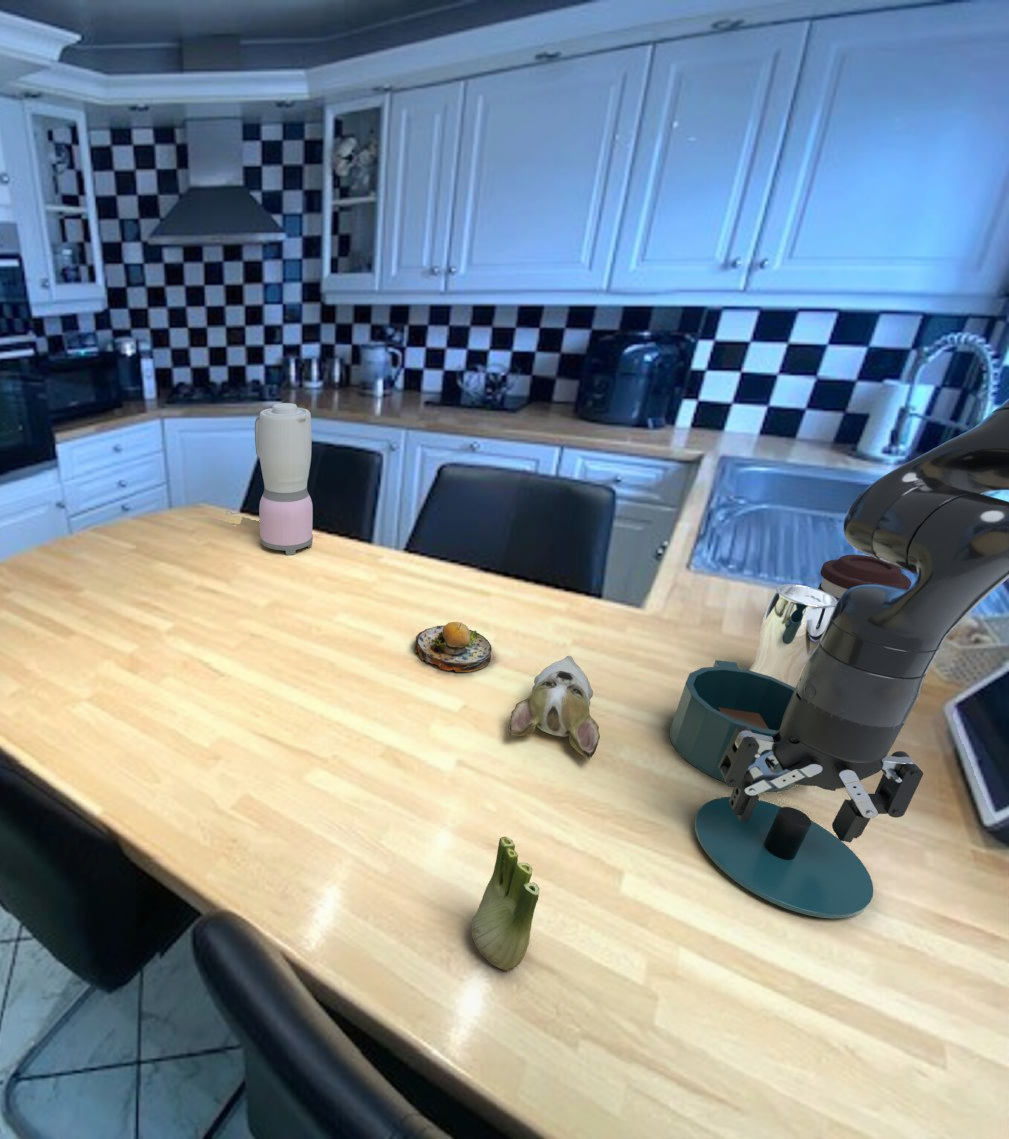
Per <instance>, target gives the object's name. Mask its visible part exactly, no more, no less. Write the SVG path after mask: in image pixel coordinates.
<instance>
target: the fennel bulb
mask: <svg viewBox="0 0 1009 1139" xmlns="http://www.w3.org/2000/svg"><path fill="white" fill-rule="evenodd" d="M515 849H516V844H515V843H514V841H513V839H511V838H509V837H508V836H502V837H501V836H500V837H499V840H498V846H497V852H496V859H495V863H494V867H493V868H494V869H493V872H492V874H491V878H490V879H489V881H488V883H487V885H486V888H485V890H484V892H483V895H482V898H481V900H480V903H479V905H478V908H477V911H476V912H475V914H474V916H473V918H472V920H471V928H470V929H471V937H472V939H473V943H474V945H475V947H476V948H477V950H478V952H479V953H480V954H481V956H482V957H483V958H484V959H486V960H487V962H488V963H490V964H491V965H492V966H494V967H496V968H498V969H501V970H504V971H506V972H511V971H513V970H515V969H516V968H517V967H518V966H519V965H520V964H521V963H522V962H523V960H524V958H525V956H526V953H527V950H528V948H529V945H530V940H531V932H532V931H531V930H532V924H533V918H534V914H535V909H536V906H537V904H538V901H539V896H540V887H539V886H538V884H537V883H536V882H535V881H534V882H532V881H531V878H532V876H533V867H532V866H531V865H530V864H529V863H528V862H523V861H522V862H519V854H518V852H517V851H516V850H515Z"/></svg>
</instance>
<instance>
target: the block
mask: <svg viewBox="0 0 1009 1139" xmlns="http://www.w3.org/2000/svg"><path fill="white" fill-rule="evenodd" d="M717 710H718V711H719V712H721V713H723V714H725V715H727V716H729V717H731V718H733V719H735V720H738V721H741V722H744V723H747V724H750V725H753V726H756V727H759V728H764V729H768V727H767V725H766V724H765V722H764V721H763V719H762V717H761V716H760V714H759V713H753V712H746V711H739V710H733V709H726V708H719V707H718V708H717Z"/></svg>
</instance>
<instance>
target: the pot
mask: <svg viewBox="0 0 1009 1139" xmlns="http://www.w3.org/2000/svg"><path fill="white" fill-rule="evenodd" d="M794 690H795V687H793V686H790V685H788V684H786V683H784V682H782V681H779V680H777V679H775V678H773V677H770V676H767V675H763V674H760V673H757V672H753V671H750V670H749V669H745V668H740V667H739V665H738V664H737V662H735V661H727V660H720V659H715V660H714V663H713V666H705V667H700V668H698V669H696V670H694V671H692V672H690V673H688V676H687V679H686V681H685V684H684V687H683V690H682V693H681V696H680V699H679V702H678V705H677V708H676V711H675V714H674V717H673V720H672V723H671V726H670V730H669V739H670V741H671V743H672V746H673V748H674V749H675V751H676V752H677V753H678V754H679V755H680V756H681V757H682V758H683V759H684V760H685V761H686V762H687V763H689V764H690V765H692V766H693V767H694V768H696V769H697V770H699V771H700V772H702V773H704V774H705V775H708V776H709V777H712V778H714V779H716V780H717V781H720V782H723V783H725V784H726V782H725V780H724V777H723V775H722V773H721V771H720V769H719V767H718V765H719V763H720V761H721V759H722V757H723V755H724V753H725V751H726V749H727V747H728V745H729V743H730V741H731V739H732V737H733V735H734V733H735V731H736V729H737V728H738V727H740V726H747V727H749V728H750V730H751V732H752V733H756V734H761V735H765V736H771V735H773V734H774V733H776V732H777V731H778V730H779V729H780V727H781V723H782V718H783V715H784V713H785V710H786V708H787V706H788V704H789V701H790V699H791V697H792V694H793V692H794ZM718 707H719V708H726V709H733V710H739V711H746V712H753V713H759V714H760V716H761V717H762V719H763V721H764V722H765V724H766V725H767V727H768V729H764V728H759V727H756V726H753V725H750V724H747V723H744V722H741V721H738V720H735V719H733V718H731V717H729V716H727V715H725V714H723V713H721V712H719V711H718V710H717V708H718ZM770 751H771V750H765V751H763V752H762V753H761V754H760V756H762V755H764V754H766V753H768V752H770ZM756 759H757V758H756V757H754V758H753V760H752V762H751V764H750V765H752V764H754V763H755V761H756ZM774 770H775V772H776V774H777V773H779V772H781V771H783V770H782V768H781V766H780V765H779V763H778V764H776V765H775V766H774ZM760 777H762V775H761V776H759V777H757V778H755V779H754V780H756V779H758V778H760ZM795 785H797V784H795V782H793V783H791V784H789V785H787V786H785V787H783V788H780V789H776V788H770V789H768V790H766V791H764V792H767V793H769V792H770V793H771V792H774V793H775V792H782V791H786V790H789V789H791V788H793V787H794V786H795Z"/></svg>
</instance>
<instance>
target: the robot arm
mask: <svg viewBox="0 0 1009 1139" xmlns="http://www.w3.org/2000/svg"><path fill="white" fill-rule="evenodd" d="M997 491H1009V398H1007V399H1006V400H1005V401H1003V402H1002V403H1001V404H1000V405H999V406H998V407H996V408H995V409H994V410H993V411H992V412H991V413H990V414H988V415H987V416H986V417H985V418H983V420H981V422H980V423H978V424H977V425H976V426H974V427H973V428H971V429H969V430H967V431H965V432H963V433H960V434H958V435H957V436H955V437H953V438H951V439H948V440H947V441H945V442H943V443H941V444H940V445H938V446H936V447H934V448H932V449H931V450H929V451H927V452H925V453H923V454H921V455H919V456H918V457H916V458H914V459H912V460H910V461H908V462H906V463H904V464H902V465H900V466H898V467H897V468H895V469H893V470H891V471H890V472H887V473H886V474H884V475H883V476H881V477H879V478H878V479H877V480H876V481H874V482H873V483H871V484H870V485H869V486H867V487H866V488H865V489H864V490H863V491H862V492H860V493H859V494H858V496H857V497H856V498H855V499H854V500H853V502H852V503H851V504H850V506H849V507H848V510H847V511H846V514H845V517H844V519H843V525H842V526H843V527H842V531H843V535H844V538H845V540H846V542H848V544H849V545H850V546H851V547H852V548H854V549H855V550H856V551H858V552H860V553H862V554H864V555H865V556H871V557H874V558H876V559H879V560H881V561H884V562H887V563H889V564H892V565H894V566H897V567H899V568H900V569H901V570H904V571H907V572H909V573H912V574H914V575H916V579H915V582H913V584H912V586H910V588H909V590H906V589H902V588H896V587H891V586H884V585H872V584H868V585H859V586H855V587H852V588H850V589H848V590H846V591H845V592H844V593H843V594H842V595H841V597H840V598H839V600H838V602H837V604H836V606H835V608H834V610H833V612H832V615H831V617H830V619H829V621H828V623H827V626H826V628H825V630H824V633H823V635H822V637H821V639H820V642H819V644H818V645H817V647H816V648H815V650H814V651H813V653H812V654H811V656H810V657H809V659H808V661H807V663H806V664H805V666H804V667H803V669H802V671H801V674H800V678H799V681H798V683H797V685H796V688H795V690H794V692H793V694H792V697H791V699H790V701H789V704H788V706H787V708H786V710H785V713H784V715H783V718H782V723H781V727H780V729H779V730H778V731H777V732H776V733H774V734H773V735H771V736H765V735H761V734H756V733H752V732H751V730H750V728H749V727H747V726H740V727H738V728H737V729H736V731H735V733H734V735H733V737H732V739H731V741H730V743H729V745H728V747H727V749H726V751H725V753H724V755H723V757H722V759H721V761H720V763H719V765H718V767H719V769H720V771H721V773H722V775H723V777H724V780H725V782H726V783H725V782H724V783H725V784H726V786H728V787H730V788H733V790H732V792H731V794H730V796H729V797H730V799H729V803H730V806H731V808H732V810H733V812H734V814H735V815H736V816H737V818H738V820H739V821H744V822H748V821H749V819H750V817H751V815H752V813H753V810H754V808H755V806H756V804H757V802H758V800H760V799H759V798H760V796H759V794H762V793H764V792H765V791H766V790H768V789H770V788H776V789H780V788H783V787H785V786H787V785H789V784H791V783H793V782H795V784H796V785H799V786H804V787H805V786H806V787H818V788H820V789H823V790H825V791H832V792H835V791H836V790H839V789H844V790H845V792H846V793H847V795H848V797H849V798H850V799H847V798H845V799H844V800H843V801H842V804H841V805H840V808H839V809H838V811H837V813H836V815H835V817H834V819H833V821H832V823H831V827H832V830H833V832H834V833H835V836H836V837H837V838H838V839H839V840H840V841H842V842H845V843H852V842H853V840H854V839H858V838H859V837H861V836H862V834H863V833H864V831H865V829H866V827H867V826H868V824H869V822H870V820H871V819H873V818H876V817H877V816H878V815H888V816H889V817H891V818H895V819H897V818H902V817H903V816H904V815H905V813H906V812H907V809H908V808H909V805H910V803H911V801H912V799H913V797H914V795H915V793H916V791H917V789H918V787H919V785H920V783H921V780H922V778H923V776H924V772H923V770H922V769H921V768H920V767H919V766H918V764H917V763H916V762H915V761H914V760H913V759H912V757H911V756H910V755H909V754H908V753H907V752H905V751H903V750H898V751H894V752H893V753H891V755H888V754H889V753H890V750H891V749H892V747H893V745H894V743H895V741H896V740H897V738H898V736H899V735H900V732H901V731H902V729H903V726H904V725H905V723H906V721H907V719H908V717H909V715H910V713H911V712H912V710H913V708H914V706H915V705H916V703H917V701H918V699H919V697H920V694H921V691H922V687H923V684H924V681H925V678H926V676H927V674H928V671H929V670H930V668H931V666H932V664H933V662H934V660H935V658H936V657H937V655H938V653H939V651H940V650H941V647H942V646H943V644H944V642H945V640H946V638H947V637H948V636H949V634H950V633H951V632H952V631H953V630H954V629H955V628H956V627H957V626H958V624H959V623H961V622H962V621H963V620H964V619H965V617H967V616H968V615H969V614H970V613H971V612H972V611H973V610H974V609H975V608H976V607H977V606H978V605H979V604H980V603H982V601H984V600H985V599H986V598H987V597H988V596H989V595H990V594H991V593H993V592H994V591H995V590H996V589H998V588H999V587H1000V586H1001V585H1002V584H1004V582H1006V581H1007V580H1008V579H1009V501H1007V500H1004V499H1001V498H997V497H993V496H990V495H985V494H986V493H991V492H997ZM765 750H771V751H770V752H768V753H766V754H764V755H762V756H760V754H761V753H762V752H763V751H765ZM754 757H756V758H757V759H756V761H755V763H754V764H752V765H750V764H751V762H752V760H753V758H754ZM778 763H779V765H780V766H781V768H782V770H783V771H781V772H779V773H777V774H776V772H775V770H774V766H775V765H776V764H778ZM880 772H882V775H881V778H880V780H879V781H878V784H877V787H876V789H875V791H874V792H873V793H868V792H867V791H866V790H867V789H865V787H864V786H863V783H862V782H861V781H863V780H864V779H866V778H870V777H871V776H873V775H875V774H877V773H880ZM761 775H762V777H760V778H758V779H756V780H754V779H755V778H757V777H759V776H761Z"/></svg>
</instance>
